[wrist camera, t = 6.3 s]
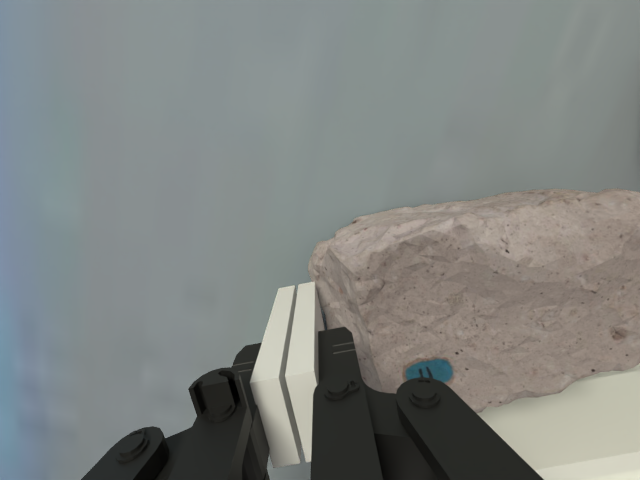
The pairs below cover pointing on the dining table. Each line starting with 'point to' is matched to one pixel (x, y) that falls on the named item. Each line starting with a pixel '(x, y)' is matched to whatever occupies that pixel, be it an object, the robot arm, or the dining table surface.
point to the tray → (577, 428)
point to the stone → (489, 292)
